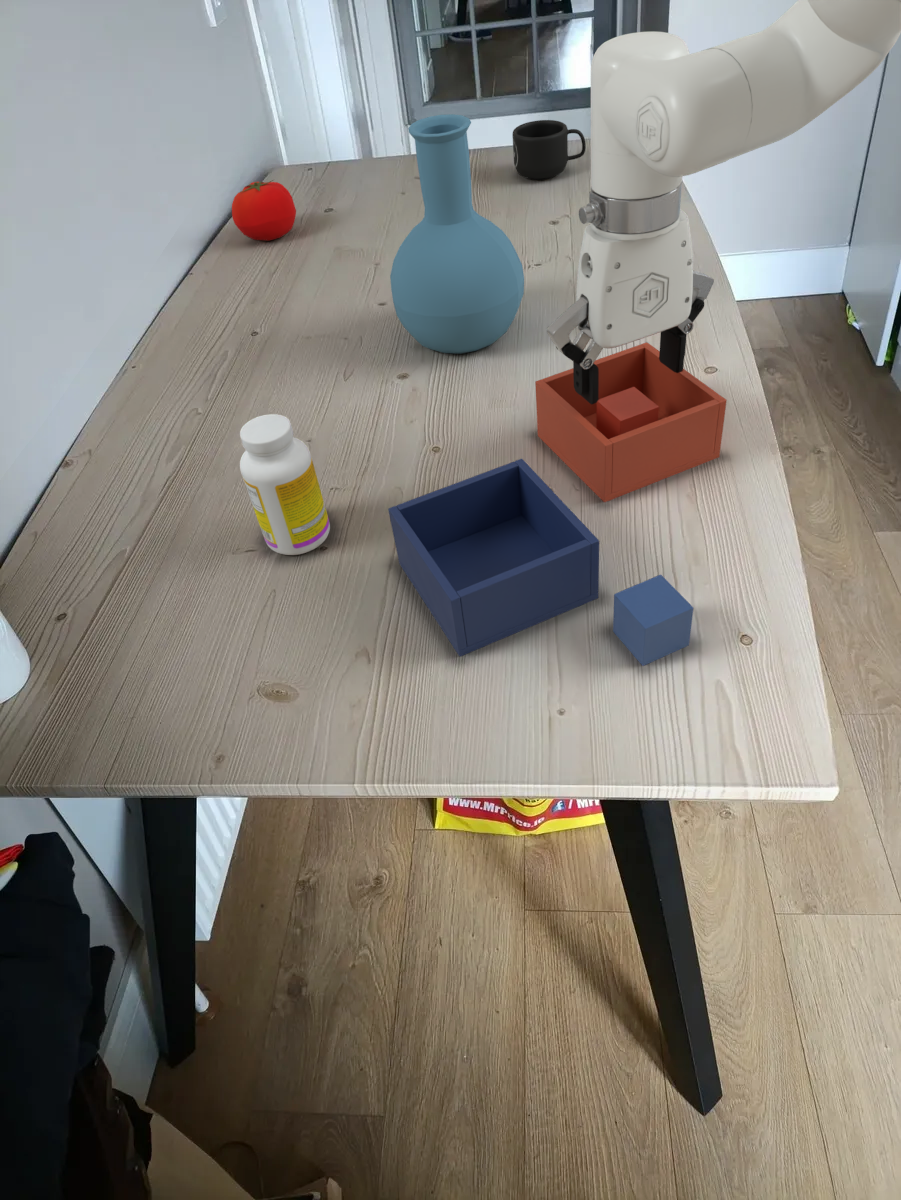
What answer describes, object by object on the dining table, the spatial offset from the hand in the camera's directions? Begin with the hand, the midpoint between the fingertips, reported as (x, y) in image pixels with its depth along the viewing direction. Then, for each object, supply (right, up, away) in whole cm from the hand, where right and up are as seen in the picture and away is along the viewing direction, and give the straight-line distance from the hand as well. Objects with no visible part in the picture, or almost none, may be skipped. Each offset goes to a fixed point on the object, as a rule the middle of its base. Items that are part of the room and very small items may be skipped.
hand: (629, 381), depth 87 cm
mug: (-1, +51, +62) cm, 80 cm away
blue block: (-1, -25, -13) cm, 28 cm away
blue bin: (-14, -20, -6) cm, 25 cm away
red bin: (+1, -5, +6) cm, 8 cm away
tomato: (-47, +37, +56) cm, 82 cm away
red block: (+1, -5, +5) cm, 7 cm away
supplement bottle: (-33, -15, +1) cm, 36 cm away
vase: (-16, +13, +26) cm, 33 cm away
